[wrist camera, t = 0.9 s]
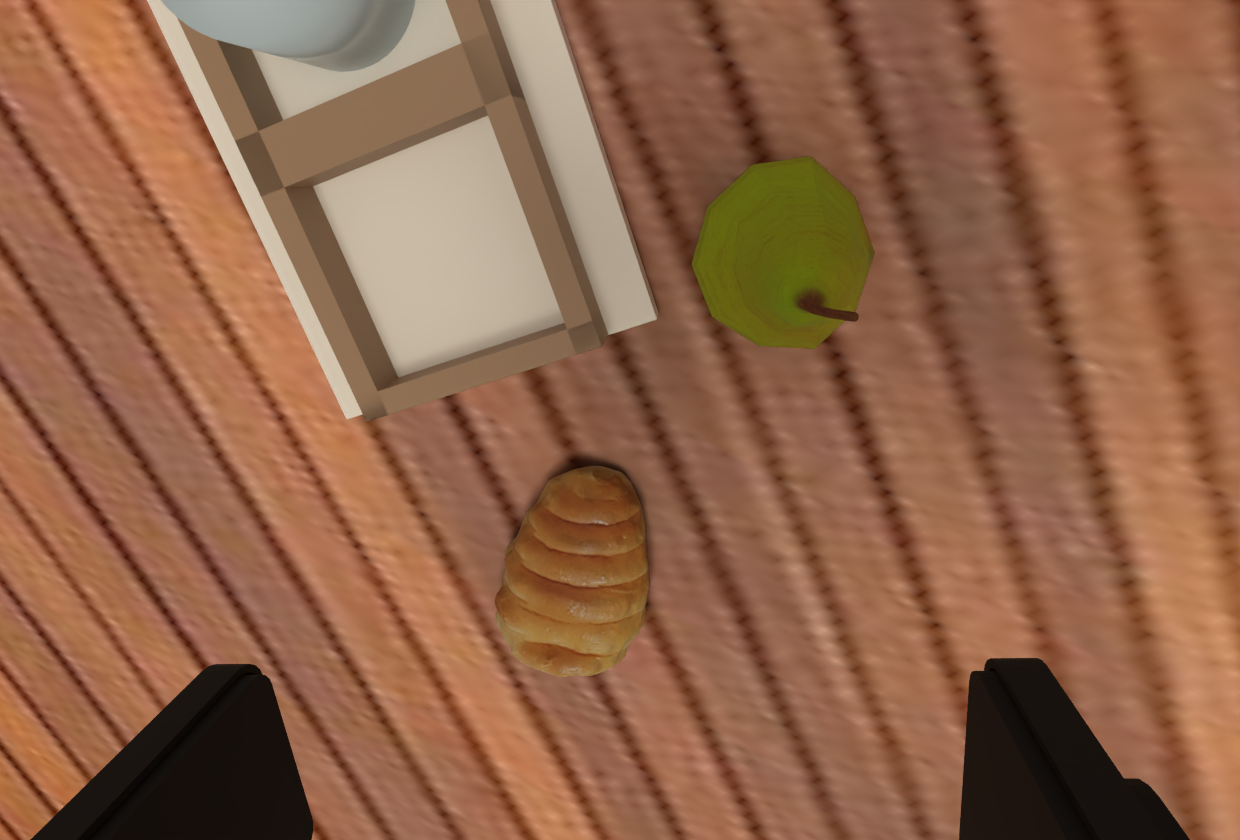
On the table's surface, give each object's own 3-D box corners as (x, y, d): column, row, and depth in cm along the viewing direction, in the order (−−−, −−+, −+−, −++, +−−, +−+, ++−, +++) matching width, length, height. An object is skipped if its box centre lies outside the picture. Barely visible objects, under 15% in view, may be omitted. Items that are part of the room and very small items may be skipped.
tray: (467, -264, 24) (433, -327, 21) (658, 313, 29) (653, 330, 26) (128, -84, 26) (53, -116, 23) (359, 410, 32) (323, 435, 29)
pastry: (528, 441, 32) (506, 476, 28) (677, 475, 32) (674, 514, 28) (499, 617, 35) (476, 668, 31) (635, 649, 35) (627, 704, 31)
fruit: (685, 172, 27) (671, 172, 16) (855, 150, 26) (968, 135, 15) (700, 337, 29) (696, 442, 18) (858, 323, 28) (959, 423, 17)
